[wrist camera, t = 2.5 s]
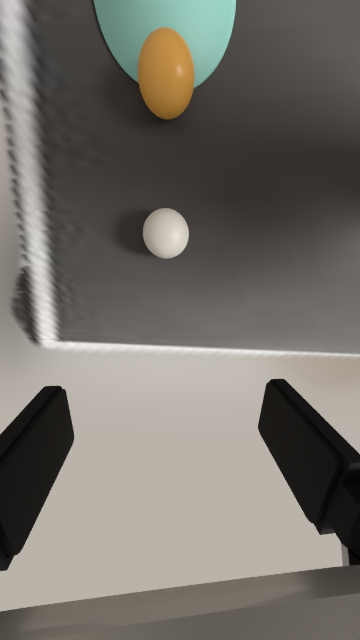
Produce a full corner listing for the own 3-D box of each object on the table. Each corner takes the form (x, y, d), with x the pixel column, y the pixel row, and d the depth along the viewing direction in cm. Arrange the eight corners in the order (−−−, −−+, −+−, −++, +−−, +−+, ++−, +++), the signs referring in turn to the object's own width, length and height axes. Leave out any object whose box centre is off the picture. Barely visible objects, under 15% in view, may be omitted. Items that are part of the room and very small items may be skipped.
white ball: (193, 245, 26) (200, 242, 21) (158, 265, 27) (157, 267, 21) (173, 205, 24) (176, 191, 19) (137, 227, 25) (130, 219, 20)
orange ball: (198, 115, 22) (209, 70, 17) (157, 141, 22) (155, 106, 17) (175, 54, 20) (179, -16, 15) (131, 84, 21) (120, 26, 15)
